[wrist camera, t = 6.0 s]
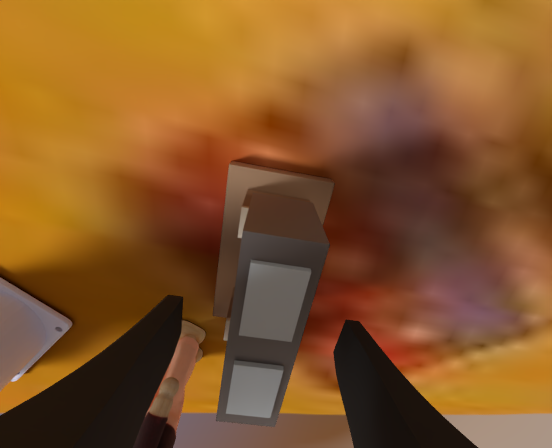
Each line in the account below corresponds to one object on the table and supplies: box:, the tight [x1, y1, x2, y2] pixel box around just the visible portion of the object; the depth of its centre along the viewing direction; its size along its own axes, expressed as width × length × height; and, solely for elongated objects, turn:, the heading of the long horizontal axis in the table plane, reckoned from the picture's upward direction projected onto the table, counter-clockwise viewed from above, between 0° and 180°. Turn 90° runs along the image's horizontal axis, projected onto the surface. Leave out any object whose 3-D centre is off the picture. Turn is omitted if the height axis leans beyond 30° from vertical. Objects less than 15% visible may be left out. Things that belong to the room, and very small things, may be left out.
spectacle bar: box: [216, 193, 330, 427], centre depth 12 cm, size 10×3×4 cm, turn 170°
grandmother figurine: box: [133, 320, 206, 448], centre depth 15 cm, size 8×4×13 cm, turn 176°
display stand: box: [213, 161, 335, 341], centre depth 16 cm, size 11×6×4 cm, turn 170°
